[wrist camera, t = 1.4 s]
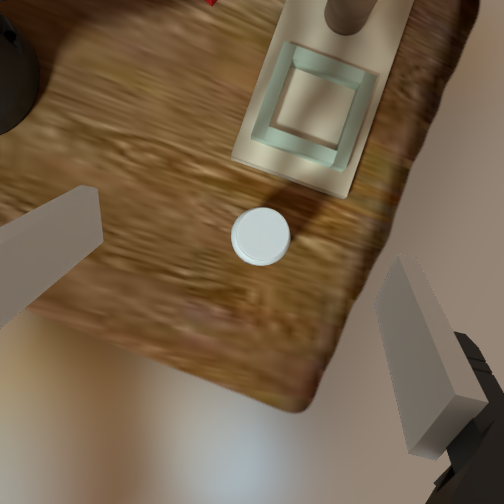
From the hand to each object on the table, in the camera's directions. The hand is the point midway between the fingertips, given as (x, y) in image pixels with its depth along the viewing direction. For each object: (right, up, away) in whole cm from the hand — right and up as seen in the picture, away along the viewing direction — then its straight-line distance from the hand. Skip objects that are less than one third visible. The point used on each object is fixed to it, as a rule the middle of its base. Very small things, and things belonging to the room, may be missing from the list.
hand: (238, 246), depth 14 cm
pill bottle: (+1, +1, +24) cm, 24 cm away
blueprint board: (+9, +21, +24) cm, 33 cm away
